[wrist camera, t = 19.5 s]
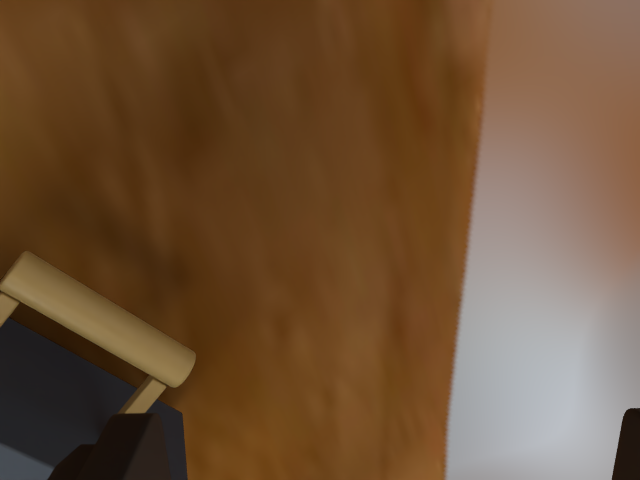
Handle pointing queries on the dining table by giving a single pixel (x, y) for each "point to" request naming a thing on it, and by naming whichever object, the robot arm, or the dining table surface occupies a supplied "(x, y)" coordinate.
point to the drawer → (76, 373)
